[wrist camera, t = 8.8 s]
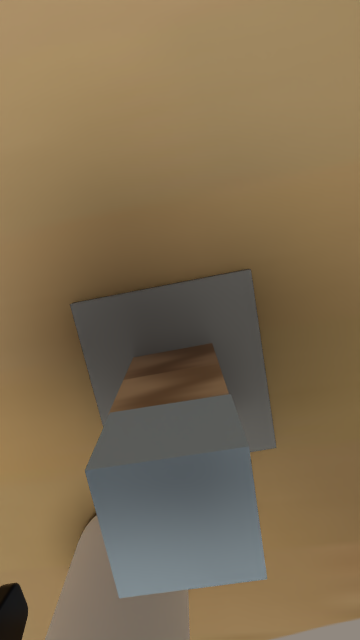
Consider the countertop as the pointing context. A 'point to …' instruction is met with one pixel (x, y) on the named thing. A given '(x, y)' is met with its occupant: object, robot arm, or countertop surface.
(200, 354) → the tower base
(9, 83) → the countertop surface
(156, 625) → the pill bottle
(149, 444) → the pale grey cube
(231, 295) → the mat
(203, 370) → the tower top
